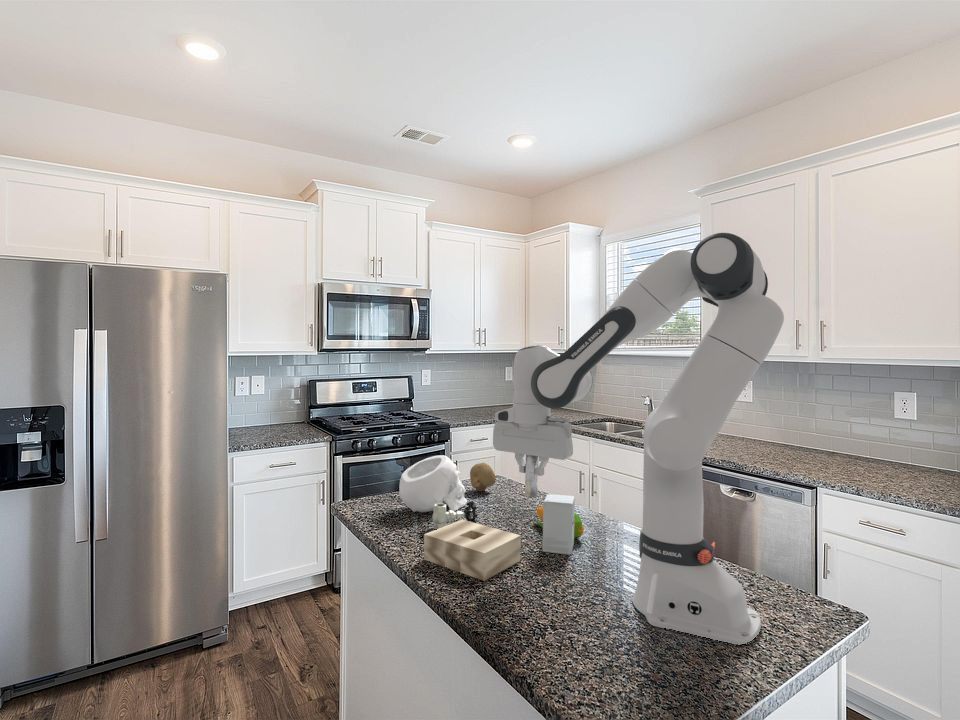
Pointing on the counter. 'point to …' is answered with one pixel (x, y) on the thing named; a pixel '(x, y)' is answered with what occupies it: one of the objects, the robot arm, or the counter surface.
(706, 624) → the robot arm
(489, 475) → the potato
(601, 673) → the counter surface
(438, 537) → the hole block
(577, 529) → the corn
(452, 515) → the valve
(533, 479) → the steel peg
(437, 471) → the skull planter
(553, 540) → the supplement box
